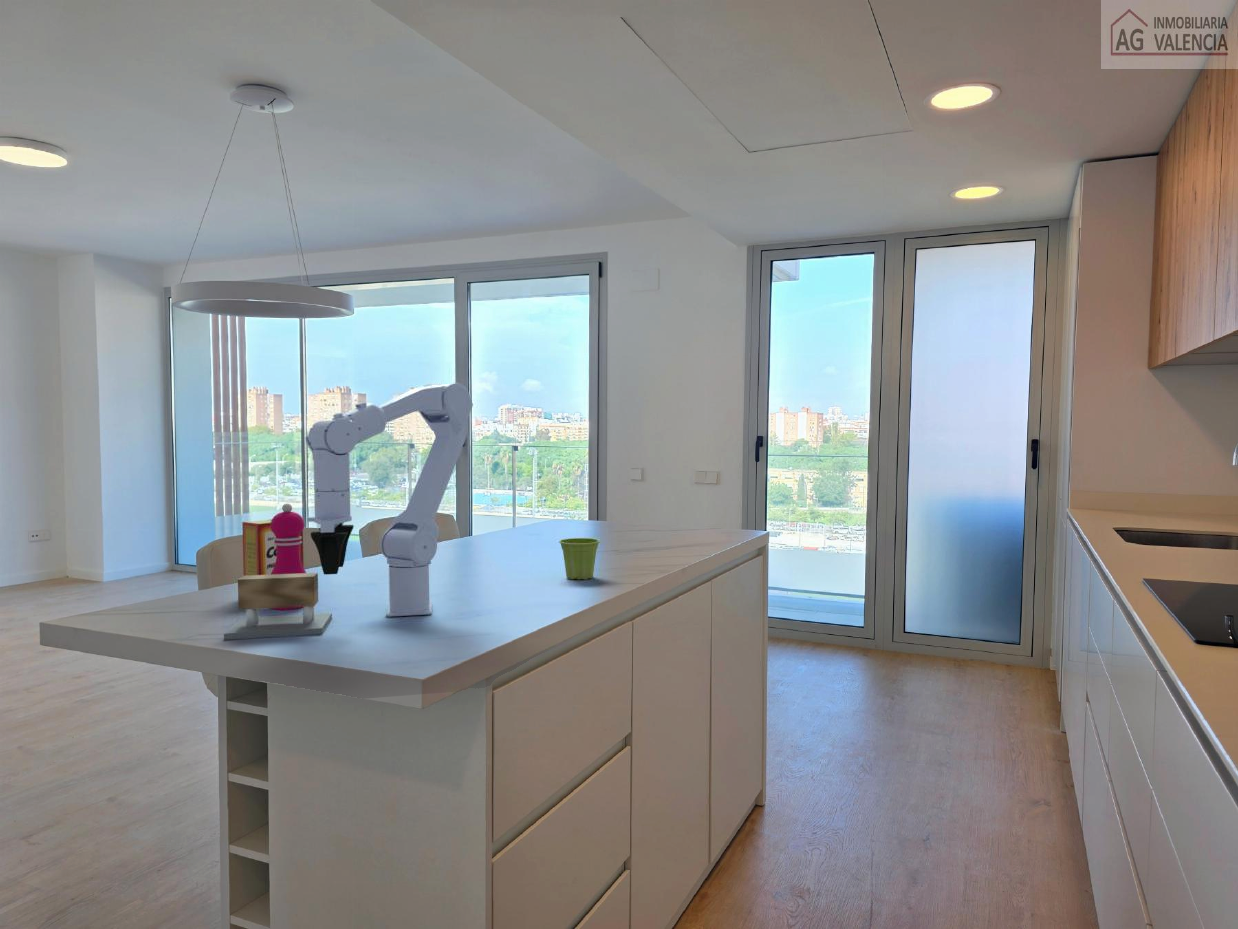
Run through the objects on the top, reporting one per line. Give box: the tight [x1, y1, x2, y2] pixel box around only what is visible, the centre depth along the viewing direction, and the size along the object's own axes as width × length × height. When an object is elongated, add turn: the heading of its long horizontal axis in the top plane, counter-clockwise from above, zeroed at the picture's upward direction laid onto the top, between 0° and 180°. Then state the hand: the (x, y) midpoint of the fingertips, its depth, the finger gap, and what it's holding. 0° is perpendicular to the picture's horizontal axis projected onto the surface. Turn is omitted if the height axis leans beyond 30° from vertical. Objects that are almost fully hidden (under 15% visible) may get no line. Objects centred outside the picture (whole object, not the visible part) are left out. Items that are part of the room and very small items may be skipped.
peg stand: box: [223, 606, 333, 641], centre depth 136 cm, size 12×15×4 cm
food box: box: [241, 518, 304, 577], centre depth 164 cm, size 10×6×16 cm
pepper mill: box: [271, 503, 307, 611], centre depth 154 cm, size 7×7×20 cm
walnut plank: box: [237, 572, 319, 610], centre depth 136 cm, size 12×4×5 cm, turn 102°
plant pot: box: [558, 537, 601, 581], centre depth 183 cm, size 9×9×9 cm
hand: (333, 570), depth 135 cm, fingers open, 7 cm apart
